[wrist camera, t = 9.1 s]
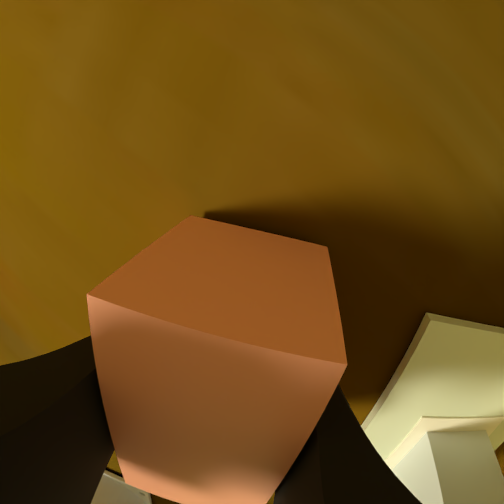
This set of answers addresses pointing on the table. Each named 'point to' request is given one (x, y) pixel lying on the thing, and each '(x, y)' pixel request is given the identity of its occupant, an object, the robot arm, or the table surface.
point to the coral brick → (216, 359)
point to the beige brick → (453, 469)
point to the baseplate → (441, 387)
